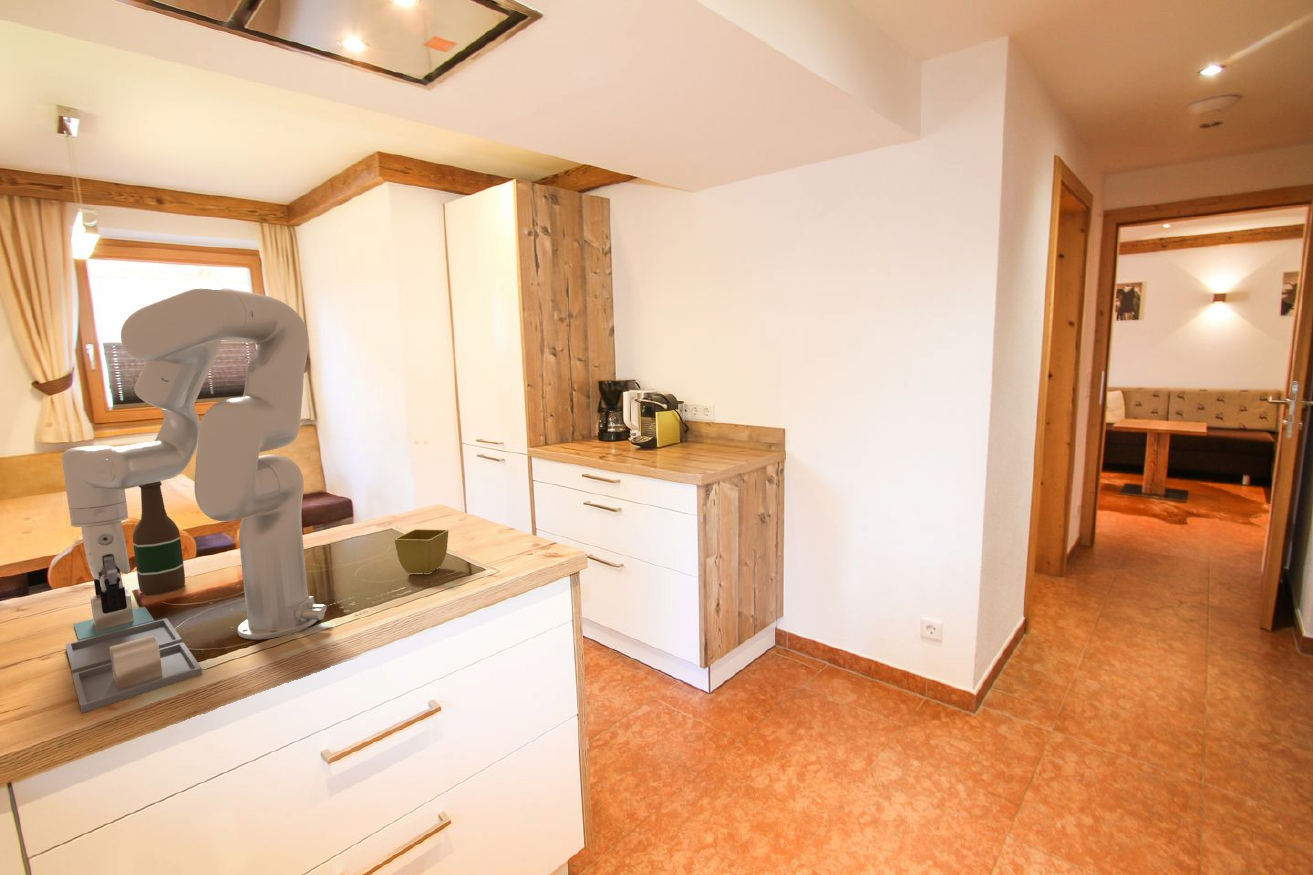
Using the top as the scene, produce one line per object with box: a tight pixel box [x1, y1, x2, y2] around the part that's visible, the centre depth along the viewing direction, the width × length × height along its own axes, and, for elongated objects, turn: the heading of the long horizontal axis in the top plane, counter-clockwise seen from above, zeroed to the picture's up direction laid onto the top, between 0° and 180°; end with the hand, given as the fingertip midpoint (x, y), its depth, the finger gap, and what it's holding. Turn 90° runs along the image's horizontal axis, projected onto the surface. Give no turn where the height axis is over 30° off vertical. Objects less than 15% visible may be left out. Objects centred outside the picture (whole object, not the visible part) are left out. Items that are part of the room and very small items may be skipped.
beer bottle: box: [132, 481, 186, 596], centre depth 124 cm, size 8×8×24 cm
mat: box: [73, 606, 155, 641], centre depth 107 cm, size 10×10×1 cm
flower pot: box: [393, 528, 449, 574], centre depth 133 cm, size 9×9×9 cm
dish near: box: [72, 641, 203, 714], centre depth 88 cm, size 13×13×1 cm
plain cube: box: [110, 635, 163, 690], centre depth 88 cm, size 5×5×5 cm
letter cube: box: [89, 588, 134, 630], centre depth 106 cm, size 5×5×5 cm
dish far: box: [65, 617, 183, 675], centre depth 98 cm, size 13×13×1 cm
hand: (111, 603), depth 106 cm, fingers open, 9 cm apart
